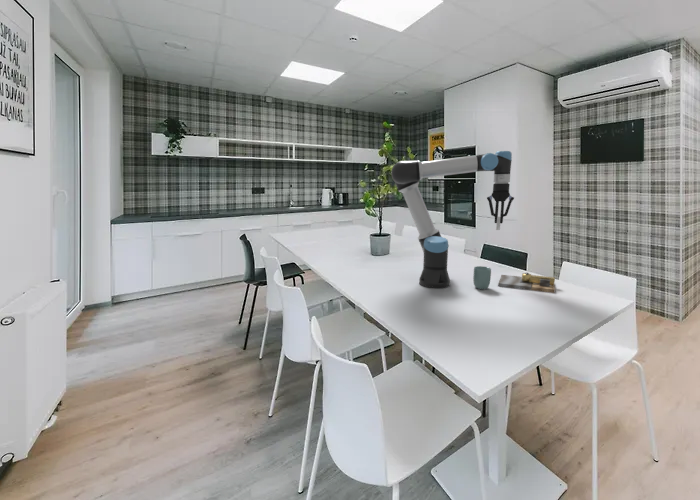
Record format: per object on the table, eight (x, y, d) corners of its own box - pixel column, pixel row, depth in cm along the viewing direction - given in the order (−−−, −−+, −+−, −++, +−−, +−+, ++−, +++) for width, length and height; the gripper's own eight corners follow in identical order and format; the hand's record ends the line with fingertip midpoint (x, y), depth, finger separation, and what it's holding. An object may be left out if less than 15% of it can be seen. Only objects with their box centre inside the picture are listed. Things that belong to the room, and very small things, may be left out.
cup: (491, 291, 164) (492, 270, 162) (473, 290, 166) (475, 269, 164) (488, 286, 172) (489, 266, 170) (471, 285, 173) (472, 265, 171)
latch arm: (521, 281, 172) (522, 273, 171) (521, 279, 175) (522, 271, 174) (554, 285, 165) (555, 276, 165) (553, 283, 169) (554, 274, 168)
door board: (498, 286, 171) (498, 277, 171) (501, 277, 187) (502, 269, 186) (554, 292, 160) (555, 283, 160) (552, 283, 176) (553, 274, 175)
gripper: (486, 183, 174) (483, 229, 179) (515, 182, 168) (511, 231, 173) (488, 183, 181) (485, 228, 185) (516, 182, 175) (512, 229, 179)
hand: (498, 229), depth 179 cm, fingers closed
